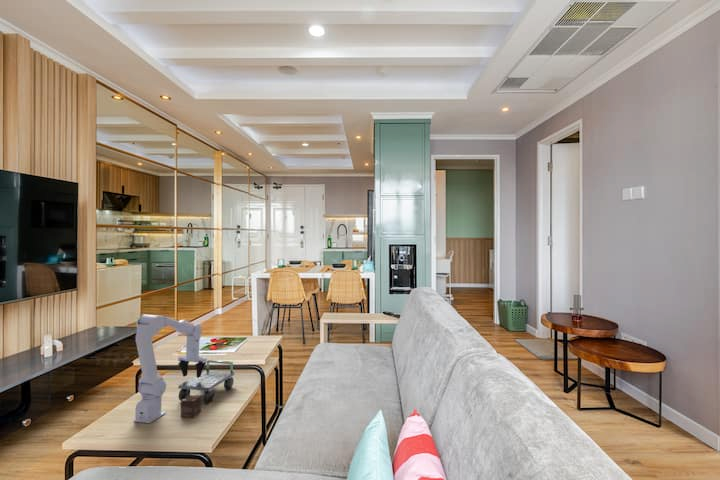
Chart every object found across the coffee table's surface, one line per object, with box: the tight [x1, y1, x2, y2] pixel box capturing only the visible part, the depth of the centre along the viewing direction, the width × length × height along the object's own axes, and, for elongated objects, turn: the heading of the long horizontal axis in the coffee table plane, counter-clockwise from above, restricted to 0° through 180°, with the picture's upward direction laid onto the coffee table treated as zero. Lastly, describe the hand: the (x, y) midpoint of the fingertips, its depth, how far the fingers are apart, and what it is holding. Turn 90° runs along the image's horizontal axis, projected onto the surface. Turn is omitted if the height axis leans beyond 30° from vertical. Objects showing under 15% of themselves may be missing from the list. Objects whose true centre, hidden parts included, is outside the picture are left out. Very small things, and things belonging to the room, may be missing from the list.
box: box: [180, 394, 202, 419], centre depth 151 cm, size 6×6×7 cm
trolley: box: [177, 359, 235, 404], centre depth 173 cm, size 23×16×14 cm
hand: (191, 376), depth 170 cm, fingers open, 7 cm apart
